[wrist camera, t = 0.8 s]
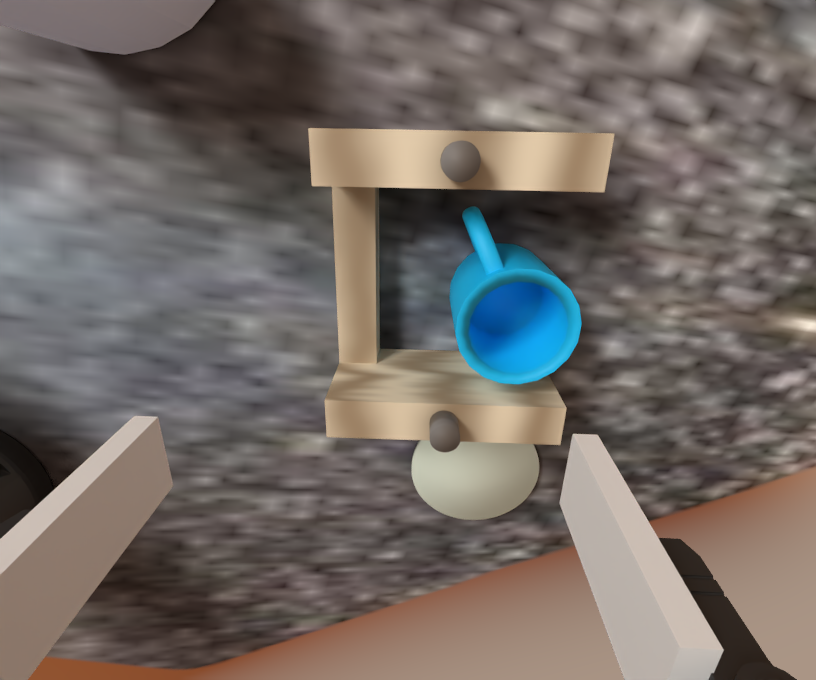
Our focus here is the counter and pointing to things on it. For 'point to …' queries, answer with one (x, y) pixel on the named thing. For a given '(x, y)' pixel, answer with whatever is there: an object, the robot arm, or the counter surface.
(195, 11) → the soap bottle
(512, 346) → the mug
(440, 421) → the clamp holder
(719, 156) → the counter surface
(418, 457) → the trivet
